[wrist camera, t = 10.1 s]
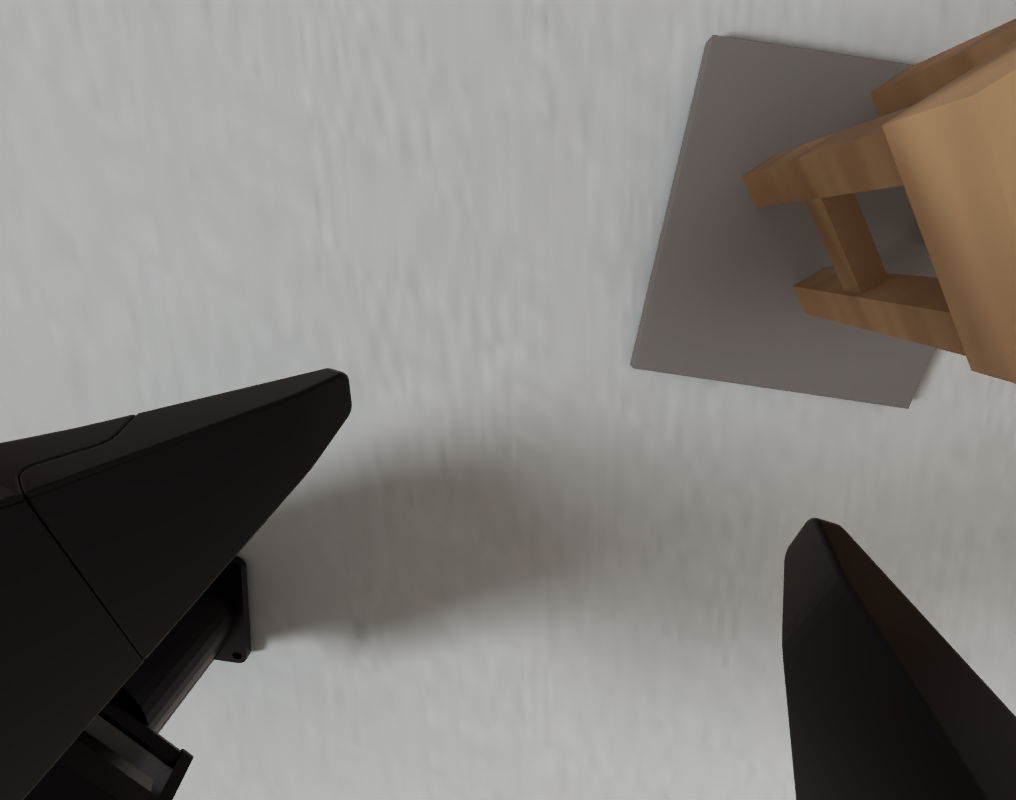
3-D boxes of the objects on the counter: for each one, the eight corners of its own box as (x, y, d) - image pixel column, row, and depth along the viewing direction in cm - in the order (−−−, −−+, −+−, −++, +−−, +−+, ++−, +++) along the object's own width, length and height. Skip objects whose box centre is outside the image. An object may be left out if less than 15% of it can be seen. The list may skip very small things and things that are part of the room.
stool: (801, 321, 17) (1066, 398, 9) (733, 174, 16) (973, 95, 7) (969, 227, 16) (1470, 210, 7) (912, 57, 14) (1457, -204, 6)
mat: (896, 403, 19) (908, 408, 18) (630, 364, 19) (633, 368, 18) (1035, 92, 15) (1055, 86, 15) (705, 42, 15) (713, 34, 15)
